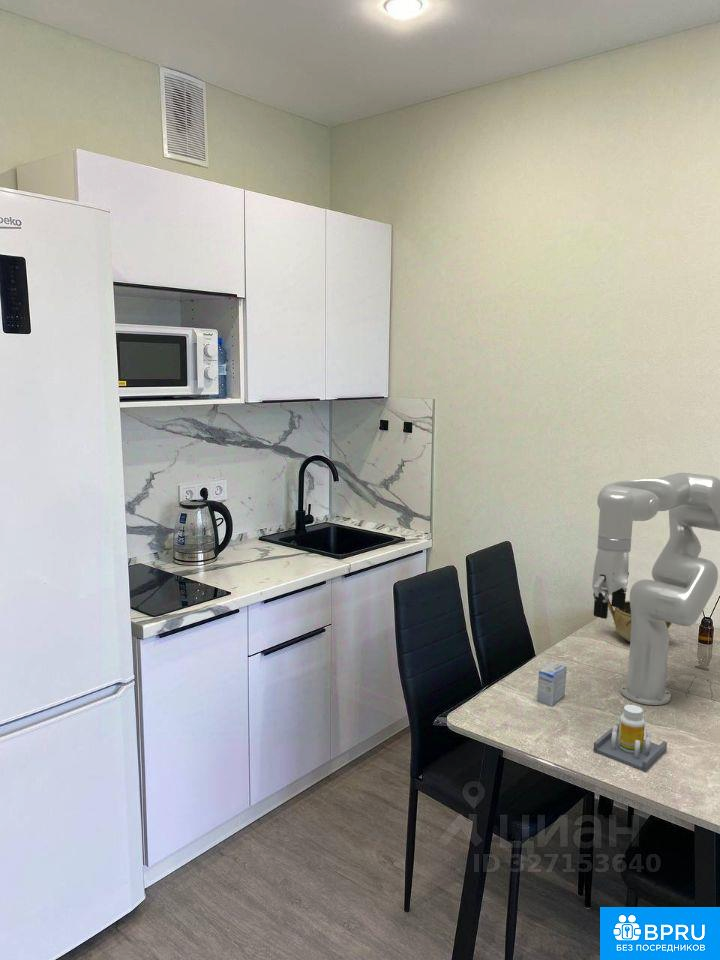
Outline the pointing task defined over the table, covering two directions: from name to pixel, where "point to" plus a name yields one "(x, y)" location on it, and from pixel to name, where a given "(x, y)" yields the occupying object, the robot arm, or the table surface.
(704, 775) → the table surface
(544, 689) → the medicine box
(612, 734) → the tray
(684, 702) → the table surface
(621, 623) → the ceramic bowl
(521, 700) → the table surface
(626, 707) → the supplement bottle
